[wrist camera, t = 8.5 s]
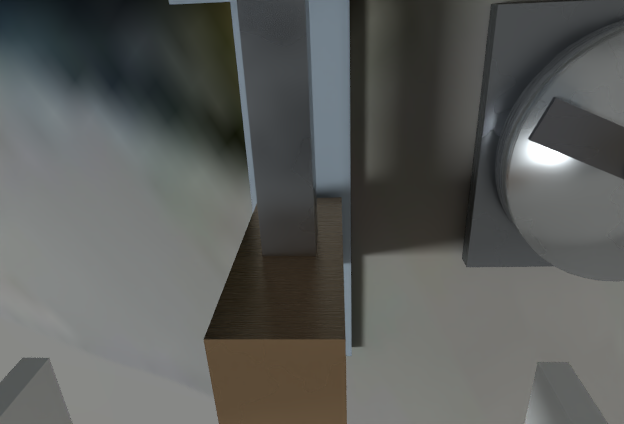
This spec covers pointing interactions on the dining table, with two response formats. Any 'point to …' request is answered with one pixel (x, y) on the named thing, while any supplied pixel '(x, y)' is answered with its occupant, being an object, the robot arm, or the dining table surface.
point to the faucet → (570, 158)
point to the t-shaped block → (319, 114)
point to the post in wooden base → (281, 246)
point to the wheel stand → (499, 101)
